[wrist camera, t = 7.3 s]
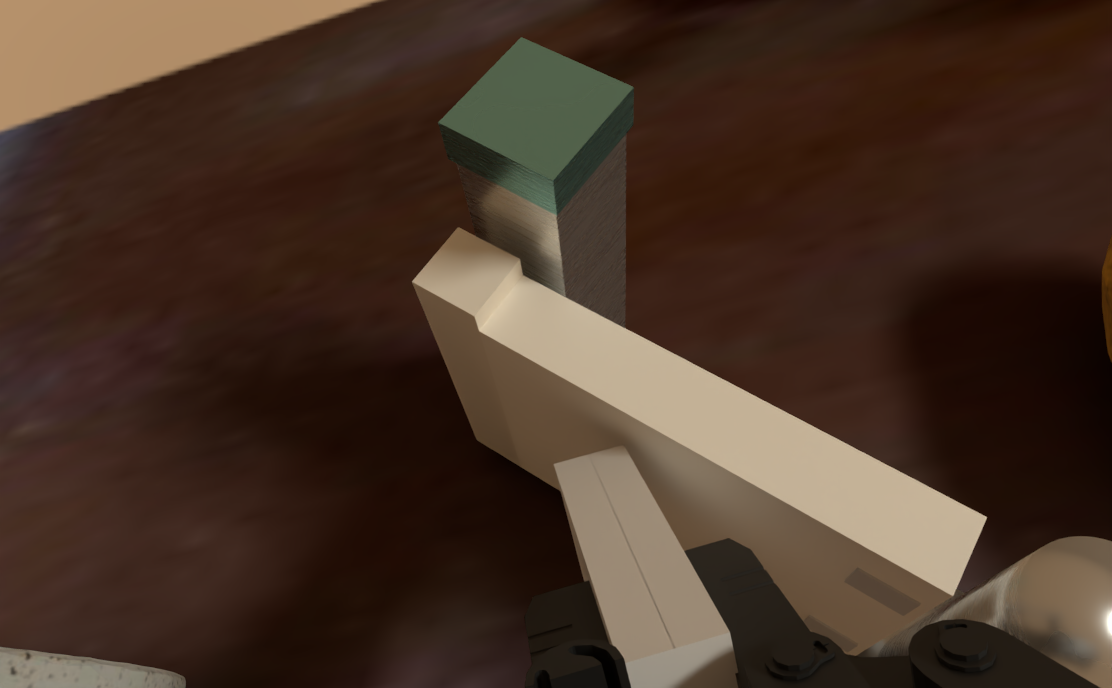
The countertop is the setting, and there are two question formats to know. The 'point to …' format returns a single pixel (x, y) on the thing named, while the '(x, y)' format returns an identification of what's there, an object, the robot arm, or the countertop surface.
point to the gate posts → (599, 285)
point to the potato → (1107, 297)
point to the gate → (693, 448)
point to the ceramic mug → (78, 672)
